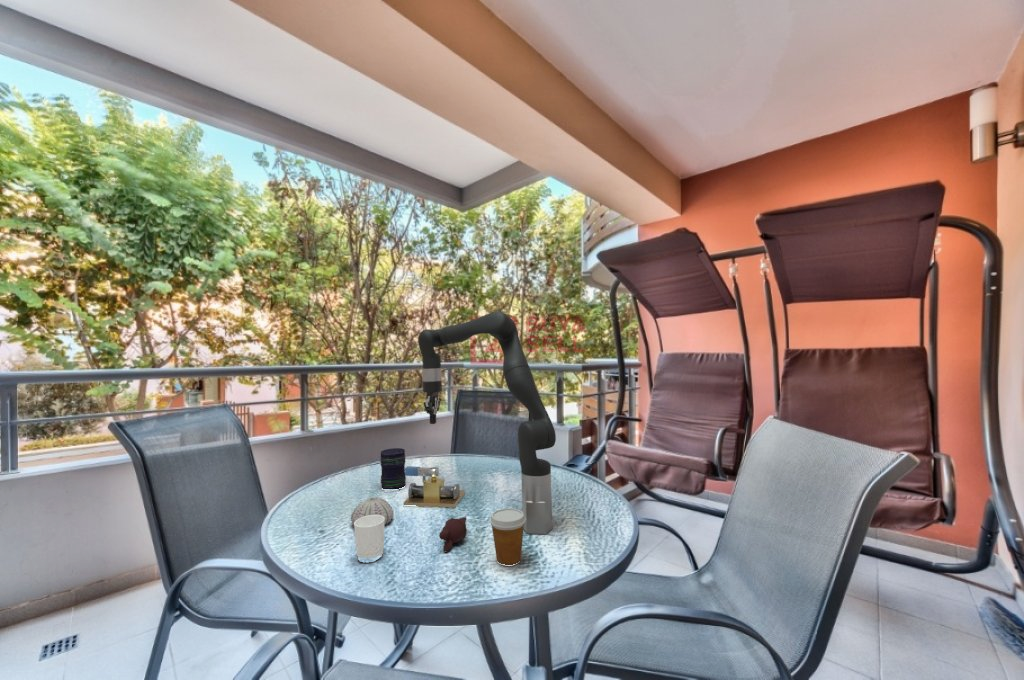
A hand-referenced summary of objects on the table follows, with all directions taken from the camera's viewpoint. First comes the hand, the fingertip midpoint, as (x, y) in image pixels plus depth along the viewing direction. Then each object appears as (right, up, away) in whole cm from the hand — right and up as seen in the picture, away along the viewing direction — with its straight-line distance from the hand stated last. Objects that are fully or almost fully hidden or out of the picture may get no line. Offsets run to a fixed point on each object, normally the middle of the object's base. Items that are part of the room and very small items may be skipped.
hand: (433, 423), depth 161 cm
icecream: (+15, -26, -42) cm, 51 cm away
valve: (+3, -27, -9) cm, 28 cm away
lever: (-2, -18, -9) cm, 20 cm away
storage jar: (-17, -28, +6) cm, 33 cm away
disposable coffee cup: (+30, -25, -53) cm, 66 cm away
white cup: (-7, -27, -50) cm, 57 cm away
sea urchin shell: (-14, -27, -28) cm, 41 cm away
